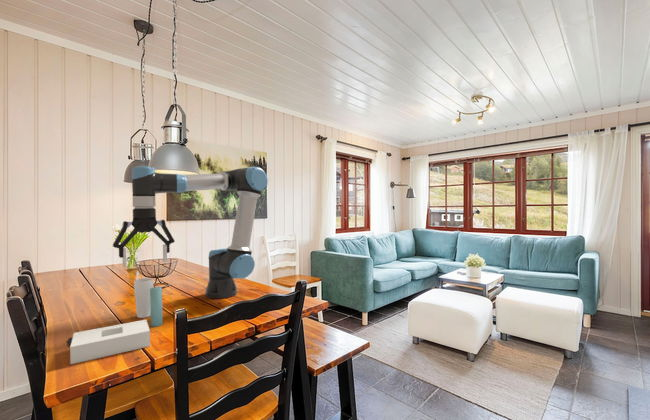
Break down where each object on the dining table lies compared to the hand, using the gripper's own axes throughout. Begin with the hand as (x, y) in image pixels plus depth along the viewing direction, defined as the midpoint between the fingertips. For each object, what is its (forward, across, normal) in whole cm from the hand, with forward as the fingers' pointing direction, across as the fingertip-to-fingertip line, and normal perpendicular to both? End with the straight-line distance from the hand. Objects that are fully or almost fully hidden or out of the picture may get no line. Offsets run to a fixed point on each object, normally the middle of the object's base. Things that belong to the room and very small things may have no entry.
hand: (145, 263), depth 119 cm
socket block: (+23, +13, +14) cm, 30 cm away
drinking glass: (+23, -1, -10) cm, 26 cm away
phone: (+24, +16, +1) cm, 28 cm away
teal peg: (+23, -3, +3) cm, 24 cm away
